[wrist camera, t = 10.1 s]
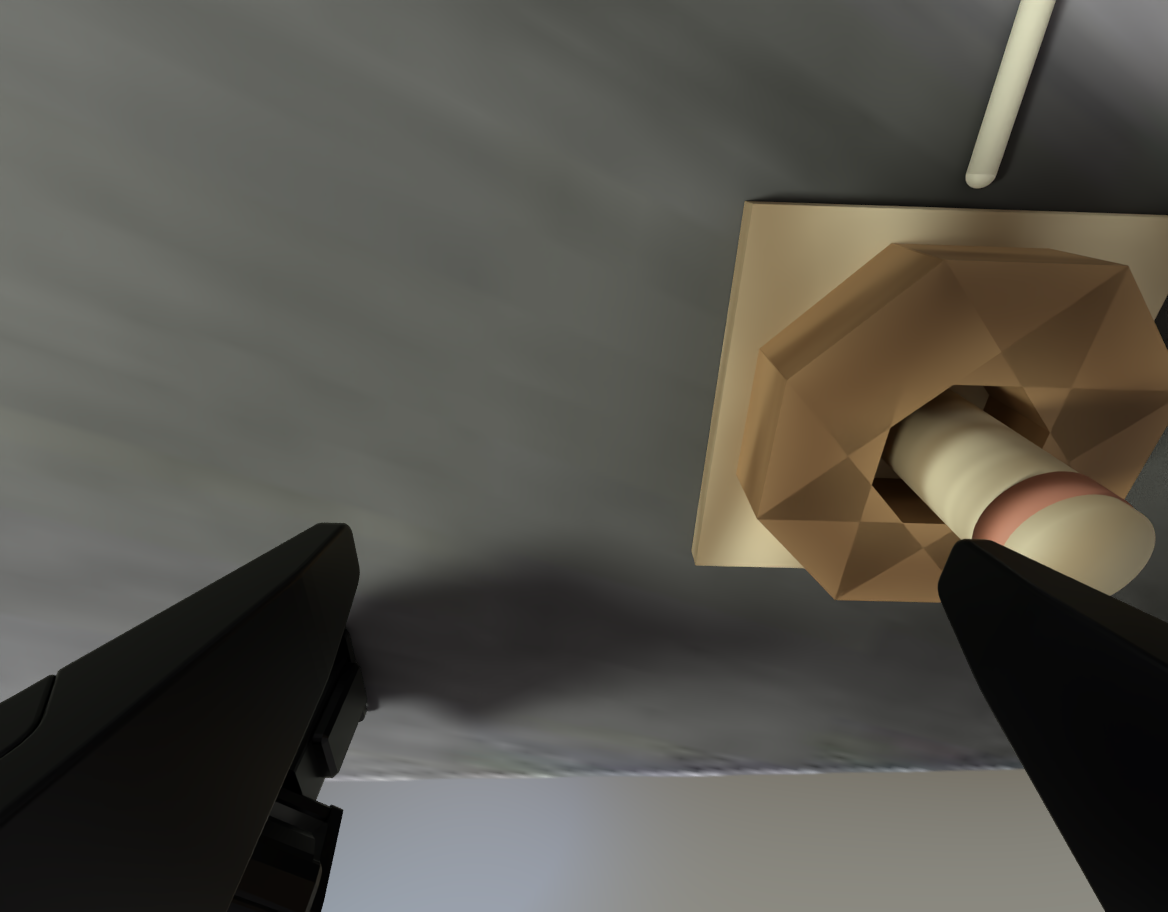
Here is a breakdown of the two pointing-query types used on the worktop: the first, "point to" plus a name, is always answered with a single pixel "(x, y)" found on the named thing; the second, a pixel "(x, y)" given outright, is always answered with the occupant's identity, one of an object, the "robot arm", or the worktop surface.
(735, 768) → the worktop surface
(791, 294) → the board
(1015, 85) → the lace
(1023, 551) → the cream banded cylinder
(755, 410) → the bead
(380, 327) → the worktop surface
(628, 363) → the worktop surface
